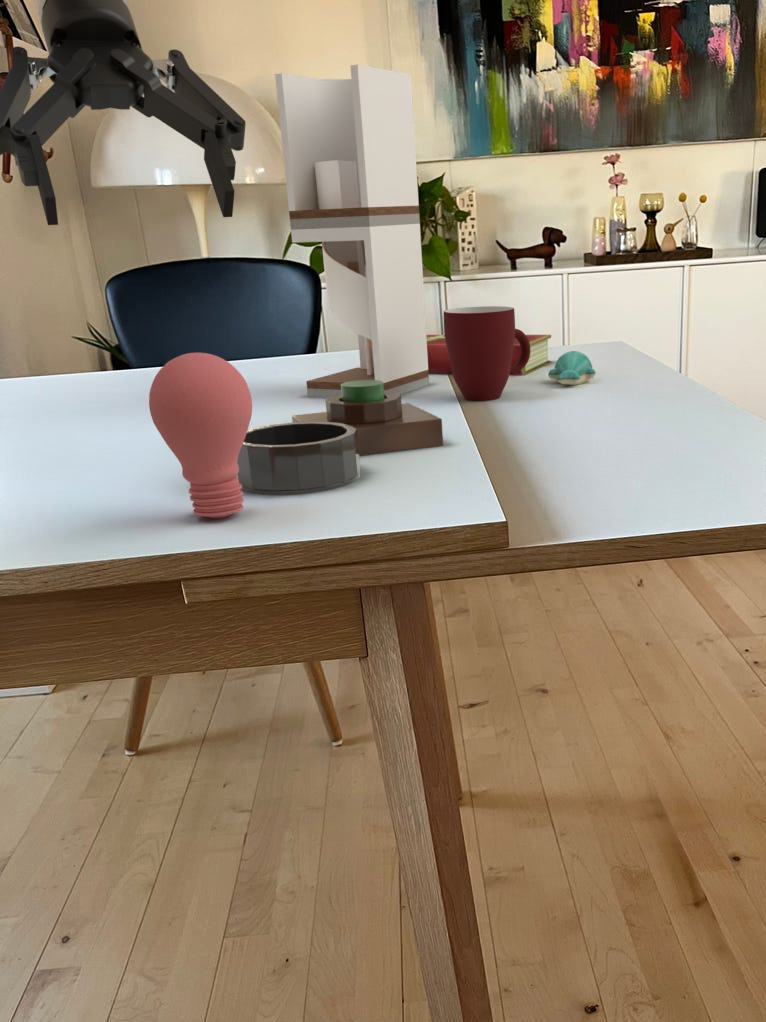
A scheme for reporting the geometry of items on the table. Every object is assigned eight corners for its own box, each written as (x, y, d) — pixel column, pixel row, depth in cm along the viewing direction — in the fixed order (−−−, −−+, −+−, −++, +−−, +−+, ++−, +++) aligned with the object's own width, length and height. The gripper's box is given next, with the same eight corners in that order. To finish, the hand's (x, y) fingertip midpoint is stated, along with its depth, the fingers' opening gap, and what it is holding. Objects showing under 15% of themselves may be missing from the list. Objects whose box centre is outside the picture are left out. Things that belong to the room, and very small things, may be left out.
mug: (504, 388, 128) (501, 303, 124) (547, 395, 122) (545, 306, 118) (434, 400, 122) (428, 311, 118) (476, 408, 116) (472, 314, 112)
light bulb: (172, 510, 80) (147, 350, 76) (266, 502, 81) (246, 344, 77) (163, 536, 74) (135, 362, 69) (265, 527, 75) (244, 355, 70)
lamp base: (317, 462, 94) (312, 412, 92) (294, 443, 102) (289, 396, 101) (443, 447, 98) (440, 398, 96) (410, 429, 106) (407, 384, 105)
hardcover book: (524, 376, 136) (523, 343, 134) (379, 374, 143) (376, 342, 142) (551, 363, 146) (551, 332, 145) (414, 362, 153) (413, 332, 152)
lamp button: (348, 407, 96) (346, 388, 95) (337, 401, 100) (336, 382, 99) (390, 403, 97) (388, 383, 97) (378, 396, 101) (376, 378, 100)
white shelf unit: (358, 383, 137) (332, 82, 123) (429, 386, 132) (411, 74, 119) (308, 398, 127) (275, 74, 114) (382, 401, 123) (357, 64, 109)
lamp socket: (248, 503, 82) (242, 452, 80) (228, 476, 90) (222, 430, 89) (374, 486, 85) (370, 437, 83) (343, 462, 94) (338, 417, 92)
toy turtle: (599, 379, 131) (599, 348, 130) (591, 389, 125) (591, 356, 123) (553, 380, 132) (552, 349, 131) (543, 389, 126) (542, 357, 124)
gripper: (229, 62, 97) (291, 235, 90) (-66, 59, 88) (-22, 252, 81) (234, -16, 91) (302, 164, 84) (-84, -28, 81) (-38, 174, 74)
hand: (143, 208), depth 82 cm, fingers open, 13 cm apart
